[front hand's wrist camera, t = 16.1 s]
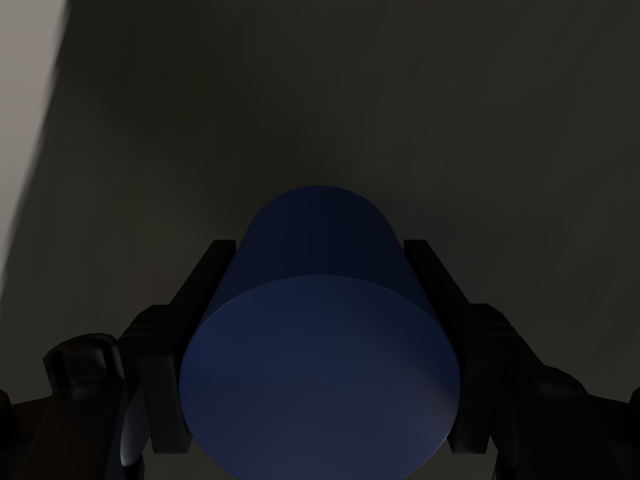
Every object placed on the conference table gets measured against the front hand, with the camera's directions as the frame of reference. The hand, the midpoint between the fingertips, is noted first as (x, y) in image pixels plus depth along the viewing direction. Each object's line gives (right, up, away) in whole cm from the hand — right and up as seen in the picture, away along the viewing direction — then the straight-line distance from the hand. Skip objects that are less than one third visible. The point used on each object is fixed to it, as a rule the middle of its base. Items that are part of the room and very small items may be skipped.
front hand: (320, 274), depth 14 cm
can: (0, 0, +1) cm, 1 cm away
